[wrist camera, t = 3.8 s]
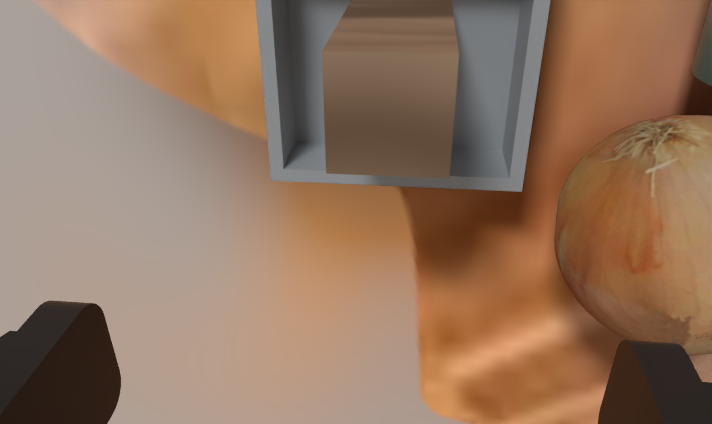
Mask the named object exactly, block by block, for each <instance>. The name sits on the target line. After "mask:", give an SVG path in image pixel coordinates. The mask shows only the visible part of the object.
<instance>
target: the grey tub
mask: <svg viewBox="0 0 712 424" xmlns="http://www.w3.org/2000/svg"><path fill="white" fill-rule="evenodd" d="M550 1H551V0H451V2H452V9H453V16H454V22H455V29H456V36H457V42H458V49H459V65H458V77H457V90H456V102H455V115H454V127H453V140H452V152H451V165H450V177H449V179H444V178H420V177H396V176H373V175H349V174H326V156H325V128H324V99H323V71H322V50H323V49H324V47H325V45H326V43H327V42H328V40H329V38H330V36H331V35H332V33H333V31H334V29H335V28H336V26H337V24H338V22H339V21H340V19H341V17H342V16H343V14H344V12H345V10H346V9H347V7H348V5H349V3H350V2H351V0H256V11H257V22H258V34H259V45H260V57H261V68H262V80H263V91H264V103H265V114H266V126H267V137H268V148H269V160H270V172H271V180H272V181H290V182H314V183H336V184H357V185H358V184H359V185H381V186H403V187H426V188H449V189H471V190H494V191H517V192H522V188H523V181H524V174H525V168H526V161H527V154H528V147H529V141H530V134H531V127H532V121H533V114H534V107H535V101H536V94H537V87H538V81H539V74H540V67H541V61H542V54H543V47H544V41H545V34H546V27H547V21H548V14H549V7H550Z"/></svg>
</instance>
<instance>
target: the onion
mask: <svg viewBox="0 0 712 424" xmlns="http://www.w3.org/2000/svg"><path fill="white" fill-rule="evenodd" d="M554 243H555V253H556V258H557V262H558V265H559V268H560V271H561V273H562V275H563V277H564V279H565V281H566V283H567V284H568V286H569V288H570V289H571V291H572V292H573V294H574V295H575V297H576V298H577V300H578V301H579V303H580V304H581V305H582V306H583V307H584V308H585V310H586V311H587V312H588V313H589V314H590V315H591V316H593V317H594V318H595V319H596V320H597V321H598V322H600V323H601V324H603V325H604V326H605V327H607V328H608V329H610V330H611V331H613V332H615V333H616V334H618V335H620V336H622V337H623V338H625V339H627V340H633V341H648V342H663V343H677V344H679V345H681V346H682V347H683V348H684V349H685V351H686V353H687V354H688V355H703V354H710V353H712V116H707V115H671V116H664V117H660V118H657V119H651V120H645V121H641V122H638V123H635V124H633V125H630V126H627V127H625V128H623V129H621V130H619V131H617V132H615V133H613V134H612V135H610V136H608V137H607V138H606V139H604V140H603V141H602V142H600V143H599V144H597V145H596V146H594V147H593V148H592V149H590V150H589V151H588V153H587V154H586V155H585V156H584V157H583V158H582V159H581V161H580V162H579V163H578V164H577V165H576V166H575V168H574V169H573V170H572V171H571V173H570V175H569V177H568V179H567V181H566V183H565V184H564V186H563V189H562V191H561V193H560V196H559V200H558V207H557V216H556V229H555V238H554Z"/></svg>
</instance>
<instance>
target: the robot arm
mask: <svg viewBox="0 0 712 424" xmlns="http://www.w3.org/2000/svg"><path fill="white" fill-rule="evenodd" d="M120 388H121V376H120V370H119V367H118V363H117V360H116V357H115V353H114V349H113V345H112V342H111V339H110V335H109V331H108V327H107V324H106V320H105V317H104V314H103V311H102V309H101V308H100V307H99V306H98V305H97V304H93V303H78V302H63V301H47V302H44V303H43V304H41V305H40V306H39V307H38V308H37V309H36V310H35V311H34V313H33V314H32V315H31V316H30V317H29V318H28V319H27V321H26V322H25V323H24V324H23V325H22V326H21V328H19V330H18V331H9V332H7V333H6V334H4V335H3V336H1V337H0V424H107V423H108V421H109V419H110V418H111V416H112V414H113V412H114V410H115V408H116V405H117V402H118V399H119V395H120ZM598 424H712V383H709V382H702V381H701V379H700V377H699V375H698V373H697V372H696V370H695V368H694V366H693V364H692V362H691V360H690V358H689V356H688V354H687V353H686V351H685V349H684V348H683V347H682V346H681V345H679V344H677V343H663V342H648V341H633V340H623V341H622V342H621V343H620V344H619V346H618V348H617V351H616V355H615V358H614V362H613V365H612V369H611V372H610V376H609V380H608V383H607V387H606V390H605V394H604V397H603V401H602V404H601V408H600V412H599V418H598Z"/></svg>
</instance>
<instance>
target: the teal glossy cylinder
mask: <svg viewBox="0 0 712 424" xmlns="http://www.w3.org/2000/svg"><path fill="white" fill-rule="evenodd" d="M692 73H693V75H694V76H695V77H696V78H698V79H699V80H700V81H702V82H704V83H706V84H708V85H710V86H712V0H711V1H710V5H709V9H708V12H707V16H706V19H705V23H704V27H703V30H702V34H701V37H700V41H699V44H698V48H697V52H696V55H695V59H694V62H693V66H692Z"/></svg>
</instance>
